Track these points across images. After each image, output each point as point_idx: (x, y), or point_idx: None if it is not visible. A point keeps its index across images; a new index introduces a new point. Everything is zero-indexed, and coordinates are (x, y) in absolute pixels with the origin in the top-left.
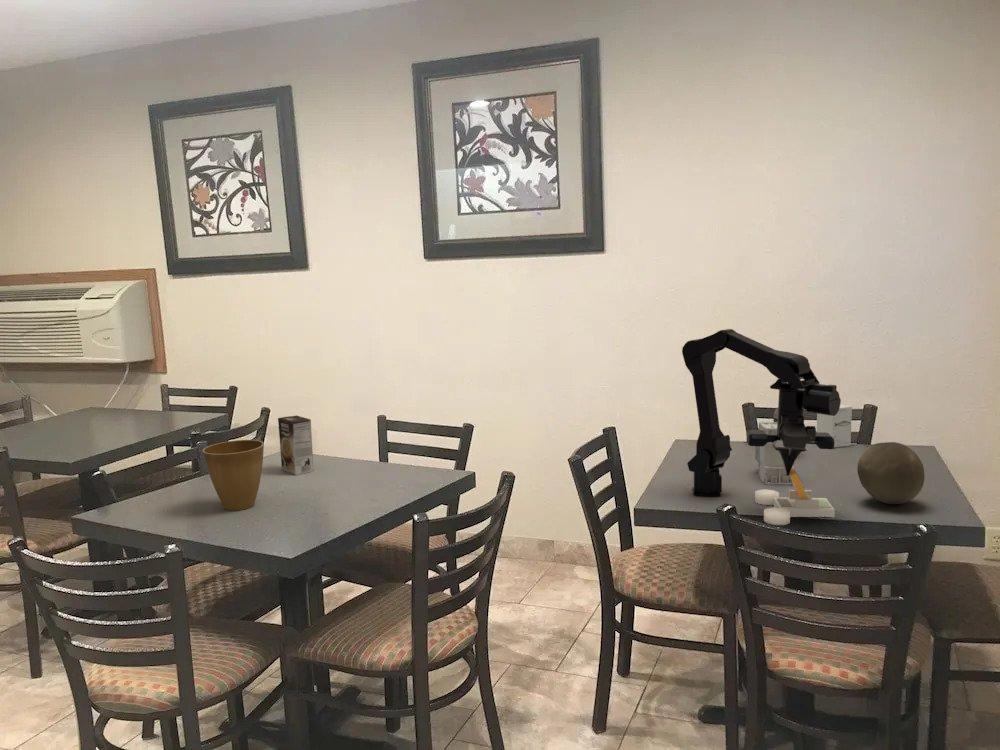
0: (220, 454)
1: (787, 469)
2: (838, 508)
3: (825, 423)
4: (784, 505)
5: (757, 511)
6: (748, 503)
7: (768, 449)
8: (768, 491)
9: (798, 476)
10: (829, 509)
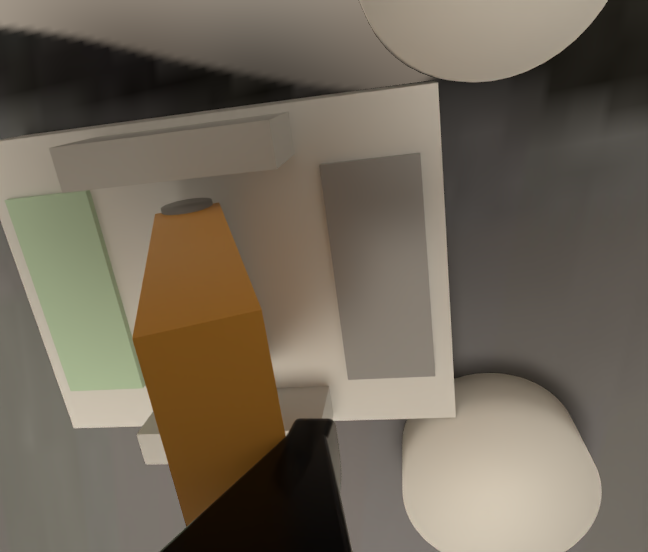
0: None
1: (305, 480)
2: (29, 361)
3: None
4: (385, 179)
5: (604, 217)
6: (637, 405)
7: None
8: (481, 529)
9: (137, 313)
10: (13, 149)
